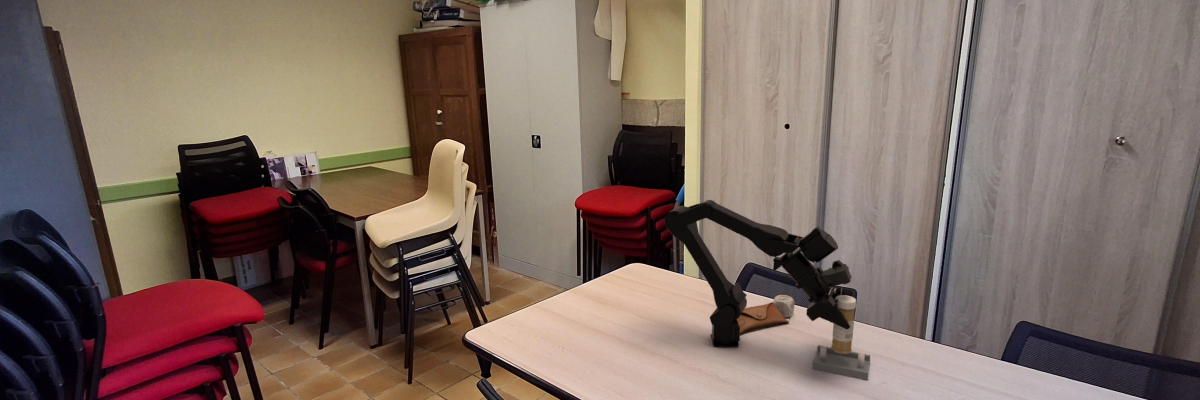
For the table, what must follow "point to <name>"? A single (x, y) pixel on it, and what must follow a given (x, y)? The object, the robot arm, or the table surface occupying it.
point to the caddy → (842, 362)
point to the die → (784, 305)
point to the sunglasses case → (760, 318)
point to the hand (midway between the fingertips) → (849, 324)
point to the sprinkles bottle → (841, 335)
